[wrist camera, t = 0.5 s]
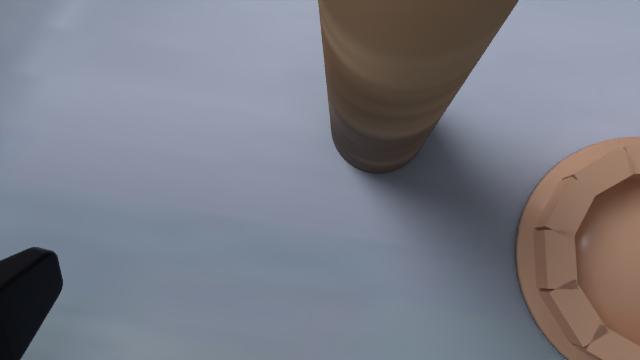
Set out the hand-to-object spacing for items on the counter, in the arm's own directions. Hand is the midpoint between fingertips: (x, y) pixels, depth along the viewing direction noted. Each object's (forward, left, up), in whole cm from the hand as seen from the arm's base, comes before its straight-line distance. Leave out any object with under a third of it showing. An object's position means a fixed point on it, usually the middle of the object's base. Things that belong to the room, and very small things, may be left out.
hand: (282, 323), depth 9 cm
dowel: (+5, -6, -13) cm, 15 cm away
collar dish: (-6, -13, -13) cm, 19 cm away
